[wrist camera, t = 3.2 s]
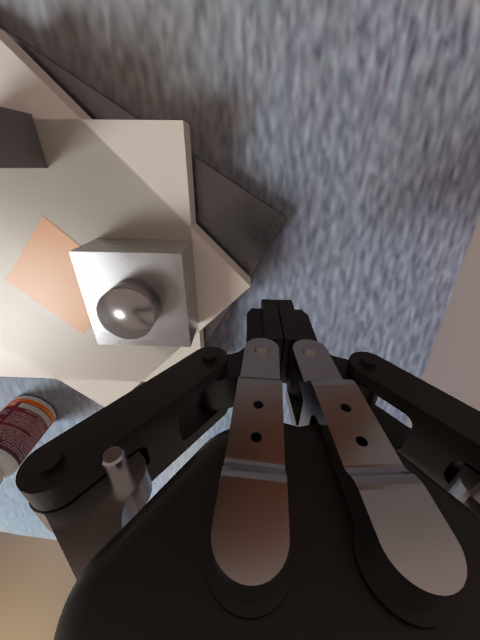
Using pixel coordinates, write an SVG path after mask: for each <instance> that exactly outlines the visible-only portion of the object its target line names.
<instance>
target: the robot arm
mask: <svg viewBox="0 0 480 640" xmlns="http://www.w3.org/2000/svg"><path fill="white" fill-rule="evenodd" d="M282 382H283V383H286V384H287V390H286V400H287V404H288V408H289V412H290V416H291V420H292V424H293V425H289V424H285V423H284V422H283V395H282ZM378 396H379V397H380V398H382V399H383V400H385V401H386V402H388V403H389V404H391V405H393V406H394V407H396V408H397V409H399V410H400V411H402V412H403V413H405V414H406V415H407V416H408V417H409V418H410V419H411V421H412V429H411V428H409V427H407V426H406V425H404V424H403V423H401V422H400V421H398V420H397V419H395V418H394V417H392V416H391V415H390V414H388V413H387V412H385V411H384V410H382V409H381V408H379V407H378V406H376V405H375V403H376V401H377V398H378ZM230 407H233V412H232V418H231V424H230V429H228V430H226V431H223V432H221V433H219V434H218V435H216V436H214V437H213V438H212V439H210V440H209V441H208V442H207V443H205V444H204V445H203V446H202V447H201V448H200V449H199V450H198V451H197V453H196V454H195V455H194V456H193V457H192V458H191V459H190V460H189V461H188V462H187V463H186V464H185V465H184V466H183V467H182V468H181V469H180V470H179V471H178V472H177V473H176V474H175V475H174V476H173V477H172V478H171V479H170V480H169V481H168V482H167V483H166V484H165V485H164V486H163V487H162V488H161V489H160V490H159V491H158V492H157V493H156V494H155V495H154V496H153V497H152V498H151V500H150V501H149V502H148V503H147V501H148V500H149V498H150V495H151V491H152V481H153V480H154V479H155V478H156V477H157V476H158V475H159V474H160V473H162V472H163V471H164V470H165V469H166V468H167V467H168V466H169V465H170V464H171V463H172V462H174V461H175V460H176V459H177V458H178V457H179V456H180V455H181V454H182V453H183V452H184V451H186V450H187V449H188V448H189V447H190V446H191V445H192V444H193V443H194V442H195V441H196V440H198V439H199V438H200V437H201V436H202V435H203V434H204V433H205V432H206V431H207V430H208V429H210V428H211V427H212V426H213V425H214V424H215V423H216V422H217V421H218V420H219V419H221V418H222V417H223V416H224V415H225V414H226V412H227V410H228V408H230ZM16 485H17V487H18V489H19V490H20V491H21V493H22V494H23V495H24V496H25V498H26V499H27V500H28V501H29V505H30V508H31V509H32V510H33V511H34V513H35V514H36V515H37V516H38V518H39V519H40V520H41V521H42V523H43V524H44V525H45V526H46V528H47V529H48V530H50V531H52V532H53V533H54V534H55V536H56V538H57V541H58V543H59V545H60V547H61V549H62V550H63V553H64V555H65V557H66V559H67V561H68V563H69V565H70V567H71V569H72V571H73V573H74V575H75V577H76V579H77V581H76V584H75V585H74V587H73V588H72V590H71V593H70V594H69V596H68V598H67V601H66V603H65V605H64V608H63V610H62V613H61V616H60V619H59V622H58V625H57V629H56V633H55V636H54V640H480V411H478V410H476V409H474V408H472V407H470V406H468V405H466V404H465V403H463V402H461V401H459V400H458V399H456V398H454V397H452V396H450V395H448V394H447V393H445V392H443V391H441V390H439V389H437V388H436V387H434V386H432V385H430V384H428V383H426V382H425V381H423V380H421V379H419V378H417V377H415V376H414V375H412V374H410V373H408V372H406V371H404V370H403V369H401V368H399V367H397V366H395V365H393V364H392V363H390V362H388V361H386V360H384V359H382V358H381V357H379V356H377V355H375V354H372V353H368V352H355V353H353V354H352V355H351V356H350V358H349V360H347V359H343V358H339V357H335V356H332V355H330V354H329V352H328V350H327V348H326V347H325V346H324V345H323V344H321V343H320V342H318V341H317V339H316V336H315V333H314V331H313V328H312V325H311V323H310V320H309V317H308V315H307V314H306V313H305V312H304V311H302V310H294V306H293V303H292V300H277V301H276V300H268V299H262V302H261V309H254V308H251V310H250V311H249V312H248V313H247V336H246V345H245V348H244V349H243V350H241V351H239V352H237V353H234V354H229V355H227V353H226V352H225V351H224V350H222V349H221V348H218V347H204V348H201V349H198V350H197V351H195V352H193V353H192V354H190V355H189V356H187V357H185V358H184V359H182V360H180V361H179V362H177V363H176V364H174V365H172V366H171V367H169V368H167V369H166V370H164V371H163V372H161V373H159V374H158V375H156V376H154V377H153V378H151V379H150V380H148V381H146V382H145V383H143V384H142V385H140V386H138V387H137V388H135V389H133V390H132V391H130V392H129V393H127V394H125V395H124V396H122V397H120V398H119V399H117V400H116V401H114V402H112V403H111V404H109V405H108V406H106V407H104V408H103V409H101V410H99V411H98V412H96V413H95V414H93V415H91V416H90V417H88V418H86V419H85V420H83V421H82V422H80V423H78V424H77V425H75V426H73V427H72V428H70V429H69V430H67V431H65V432H64V433H62V434H61V435H59V436H57V437H56V438H54V439H52V440H51V441H49V442H48V443H46V444H44V445H43V446H41V447H40V448H38V449H37V450H35V451H34V452H33V453H31V454H30V455H29V456H28V457H27V458H26V459H25V461H24V462H23V463H22V465H21V466H20V468H19V470H18V472H17V475H16ZM146 503H147V504H146Z"/></svg>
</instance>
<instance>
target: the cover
mask: <svg viewBox="0 0 480 640" xmlns="http://www.w3.org/2000/svg"><path fill="white" fill-rule="evenodd" d="M69 254H70V257H71V260H72V263H73V267H74V270H75V273H76V276H77V279H78V283H79V286H80V289H81V292H82V295H83V299H84V302H85V305H86V308H87V311H88V314H89V318H90V321H91V324H92V327H93V330H94V334H95V337H96V340H97V343H98V344H104V345H138V346H172V347H191V345H192V342H193V339H194V336H195V333H196V330H197V327H198V324H199V321H198V308H197V295H196V282H195V269H194V256H193V243H192V240H159V239H109V238H97V239H94V240H92V241H90V242H88V243H86V244H84V245H82V246H79V247H77V248H75V249H73V250H71V251H69Z"/></svg>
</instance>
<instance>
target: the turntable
mask: <svg viewBox="0 0 480 640" xmlns="http://www.w3.org/2000/svg"><path fill="white" fill-rule="evenodd" d="M97 238H109V239H159V240H192V243H193V256H194V269H195V282H196V295H197V308H198V321H199V324H198V327H197V330H196V333H195V336H194V339H193V342H192V345H191V347H172V346H138V345H104V344H98V343H97V340H96V337H95V334H94V330H93V327H92V324H91V321H90V318H89V314H88V311H87V308H86V305H85V302H84V299H83V295H82V292H81V289H80V286H79V283H78V279H77V276H76V273H75V270H74V267H73V263H72V260H71V257H70V254H69V251H71V250H73V249H75V248H77V247H79V246H82V245H84V244H86V243H88V242H90V241H92V240H94V239H97ZM249 287H251V278H250V277H249V276H248V275H247V274H246V273H245V272H244V271H243V270H242V269H241V268H240V267H239V266H238V265H237V264H236V263H235V262H234V261H233V260H232V259H231V258H230V257H229V256H228V255H227V254H226V253H225V252H224V251H223V250H222V249H221V248H220V247H219V246H218V245H217V244H216V243H215V242H214V241H213V240H212V239H211V238H210V237H209V236H208V235H207V234H206V233H205V232H204V231H203V230H202V229H201V228H200V227H199V226H198V225H197V224H196V215H195V200H194V185H193V171H192V156H191V141H190V127H189V124H188V123H186V122H185V121H183V120H98V119H92V118H91V117H90V116H89V115H88V114H87V113H86V112H85V111H84V110H83V109H82V108H81V107H80V106H79V105H78V104H77V103H76V102H75V101H74V100H73V99H72V98H71V97H70V96H69V95H68V94H67V93H66V92H65V91H64V90H63V89H62V88H61V87H60V86H59V85H58V84H57V83H56V82H55V81H54V80H53V79H52V78H51V77H50V76H49V75H48V74H47V73H46V72H45V71H44V70H43V69H42V68H41V67H40V66H39V65H38V64H37V63H36V62H35V61H34V60H33V59H32V58H31V57H30V56H29V55H28V54H27V53H26V52H25V51H24V50H23V49H22V48H21V47H20V46H19V45H18V44H17V43H16V42H15V41H14V40H13V39H12V38H11V37H10V36H9V35H8V34H7V33H6V32H5V31H4V30H2V29H0V376H6V377H33V378H57V379H58V380H60V381H62V382H63V383H65V384H67V385H68V386H70V387H72V388H73V389H75V390H77V391H78V392H80V393H82V394H83V395H85V396H87V397H88V398H90V399H92V400H93V401H95V402H97V403H98V404H100V405H102V406H103V407H106V406H108V405H109V404H111V403H112V402H114V401H116V400H117V399H119V398H120V397H122V396H124V395H125V394H127V393H129V392H130V391H132V390H133V389H134V388H135V387H136V386H137V385H138V384H140V383H141V382H146V381H148V380H150V379H151V378H153V377H154V376H156V375H158V374H159V373H161V372H163V371H164V370H166V369H167V368H169V367H171V366H172V365H174V364H176V363H177V362H179V361H180V360H182V359H184V358H185V357H187V356H189V355H190V354H192V353H193V352H195V351H197V350H198V349H201V348H204V332H203V328H204V327H205V326H206V325H207V324H208V323H209V322H211V321H212V320H213V319H214V318H215V317H216V316H217V315H219V314H220V313H221V312H222V311H223V310H224V309H225V308H227V307H228V306H229V305H230V304H231V303H232V302H233V301H235V300H236V299H237V298H238V297H239V296H240V295H241V294H243V293H244V292H245V291H246V290H247V289H248V288H249Z"/></svg>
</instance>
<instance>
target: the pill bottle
mask: <svg viewBox="0 0 480 640" xmlns="http://www.w3.org/2000/svg"><path fill="white" fill-rule="evenodd" d="M55 418H56V414H55V411H54V409H53V408H52V407H51V406H50V405H49V404H48V403H46V402H45V401H43V400H41V399H39V398H37V397H33V396H19V397H16V398H15V399H13V400H12V401H11V402H10V403H9V404H8V405H7V406H6V407H5V408H4V409H3V410H2V411H1V412H0V484H1V482H2V481H3V478H6V477H9V476H10V475H12V474H13V473H14V472H15V471H16V470H17V469H18V468H19V467H20V465H21V464H22V462H23V461H24V460H25V458H26V457H27V456H28V455H29V453H30V452H31V451H32V450H33V448H34V447H35V446H36V444H37V443H38V442H39V440H40V439H41V438H42V436H43V435H44V434H45V432H46V431H47V430H48V429H49V428H50V426H51V425H52V424H53V422H54V421H55Z"/></svg>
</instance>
